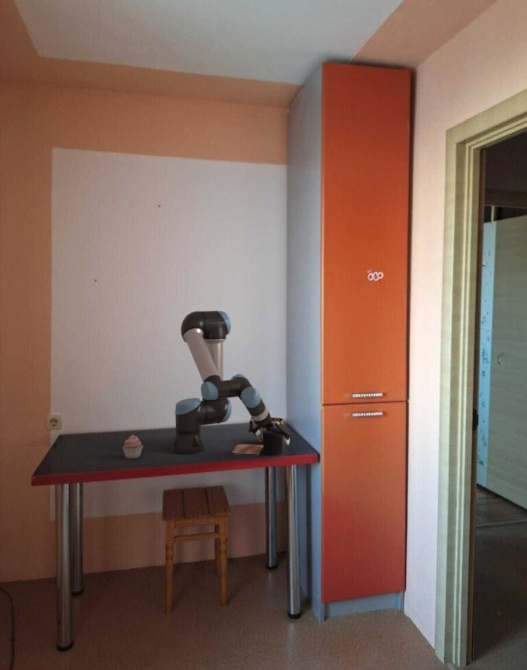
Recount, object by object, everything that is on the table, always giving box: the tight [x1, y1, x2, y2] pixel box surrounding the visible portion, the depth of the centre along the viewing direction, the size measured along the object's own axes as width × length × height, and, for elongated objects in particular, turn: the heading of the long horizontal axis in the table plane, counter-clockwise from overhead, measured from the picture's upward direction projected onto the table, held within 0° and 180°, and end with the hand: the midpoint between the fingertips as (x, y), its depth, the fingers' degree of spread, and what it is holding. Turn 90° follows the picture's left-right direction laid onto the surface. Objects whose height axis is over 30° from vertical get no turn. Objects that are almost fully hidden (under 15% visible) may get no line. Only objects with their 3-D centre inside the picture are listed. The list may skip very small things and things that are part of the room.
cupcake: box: [121, 434, 144, 460], centre depth 225 cm, size 9×9×10 cm
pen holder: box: [262, 430, 284, 456], centre depth 230 cm, size 9×9×10 cm
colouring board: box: [231, 443, 263, 456], centre depth 233 cm, size 12×12×1 cm
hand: (274, 440), depth 231 cm, fingers open, 13 cm apart
